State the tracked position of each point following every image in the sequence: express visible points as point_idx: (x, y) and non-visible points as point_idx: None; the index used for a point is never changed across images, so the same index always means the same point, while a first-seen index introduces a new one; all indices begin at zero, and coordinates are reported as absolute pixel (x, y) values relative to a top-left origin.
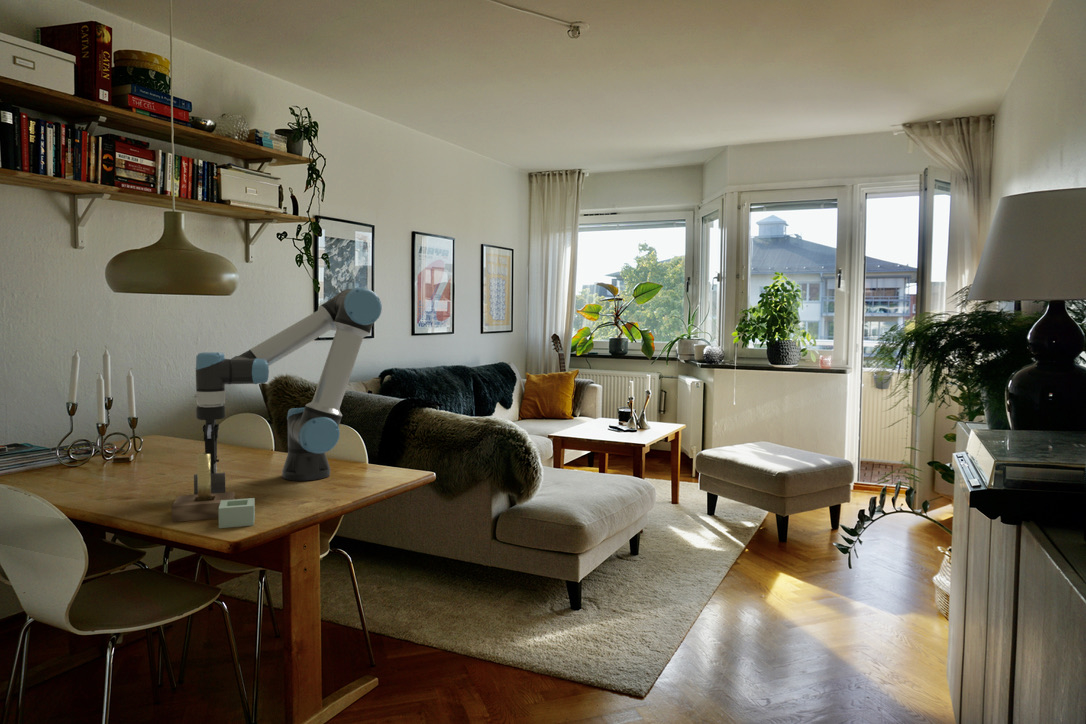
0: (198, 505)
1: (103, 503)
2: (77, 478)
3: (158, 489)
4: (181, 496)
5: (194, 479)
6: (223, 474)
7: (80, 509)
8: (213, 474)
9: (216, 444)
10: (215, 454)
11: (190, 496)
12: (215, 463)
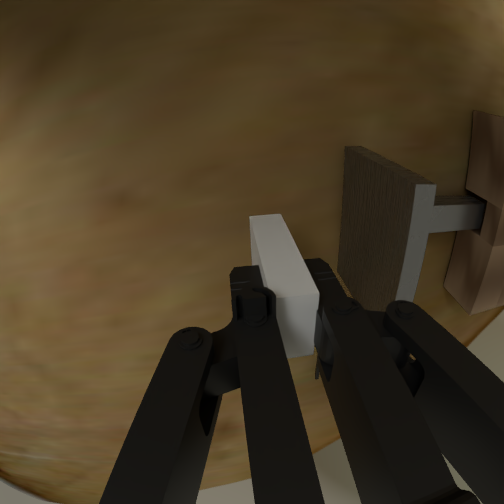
0: None
1: None
2: (54, 476)
3: (121, 395)
4: (483, 301)
5: None
6: (429, 191)
7: None
8: (423, 253)
9: (174, 464)
10: (353, 360)
11: (498, 275)
12: (333, 297)
